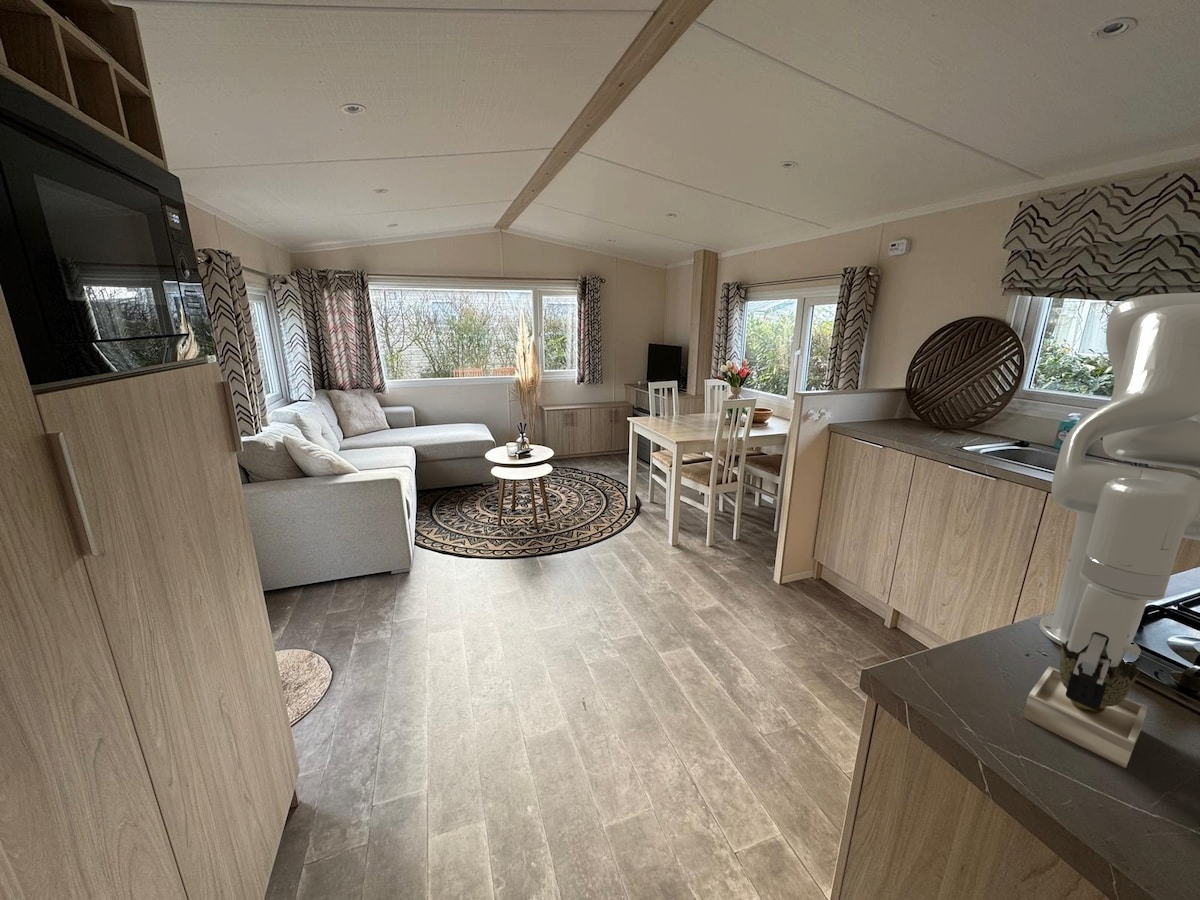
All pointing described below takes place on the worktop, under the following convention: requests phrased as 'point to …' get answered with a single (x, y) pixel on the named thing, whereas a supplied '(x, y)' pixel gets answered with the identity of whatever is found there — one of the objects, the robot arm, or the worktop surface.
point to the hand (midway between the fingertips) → (1091, 686)
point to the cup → (1116, 681)
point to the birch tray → (1085, 719)
